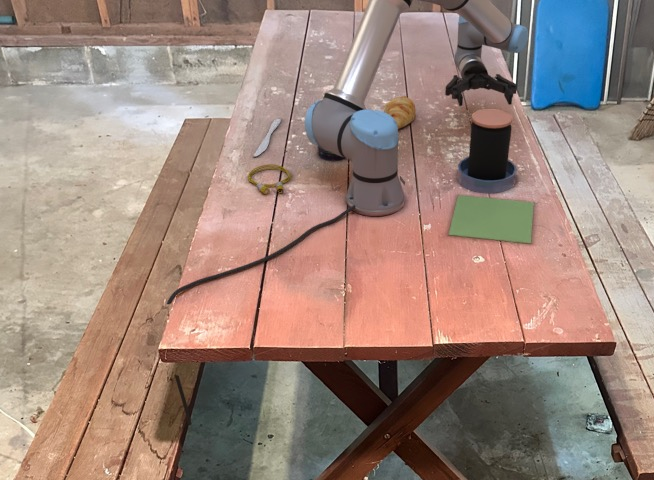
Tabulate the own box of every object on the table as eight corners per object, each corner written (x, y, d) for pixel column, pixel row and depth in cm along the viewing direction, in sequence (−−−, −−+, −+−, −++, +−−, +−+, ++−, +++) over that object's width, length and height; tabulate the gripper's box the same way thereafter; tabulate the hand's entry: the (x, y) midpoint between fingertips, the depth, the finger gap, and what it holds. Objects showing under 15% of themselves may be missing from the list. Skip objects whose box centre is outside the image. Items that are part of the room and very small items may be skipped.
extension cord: (238, 193, 189) (237, 186, 188) (256, 166, 201) (255, 160, 200) (281, 196, 187) (281, 190, 186) (297, 169, 199) (296, 163, 198)
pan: (507, 197, 187) (508, 185, 185) (450, 187, 192) (450, 175, 189) (520, 171, 199) (522, 159, 196) (466, 162, 203) (467, 150, 201)
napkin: (530, 244, 169) (530, 242, 169) (448, 235, 172) (448, 234, 172) (533, 203, 185) (533, 202, 184) (458, 195, 188) (458, 194, 188)
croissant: (405, 142, 221) (417, 122, 216) (377, 127, 219) (388, 106, 214) (411, 114, 237) (423, 94, 232) (385, 99, 235) (396, 79, 230)
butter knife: (284, 118, 226) (275, 117, 226) (260, 156, 205) (250, 155, 205) (284, 120, 226) (275, 119, 226) (260, 158, 205) (250, 157, 206)
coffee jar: (502, 169, 199) (509, 108, 188) (508, 187, 191) (516, 124, 180) (464, 169, 199) (469, 108, 188) (469, 187, 191) (474, 125, 179)
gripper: (513, 83, 211) (529, 112, 194) (431, 86, 209) (440, 115, 193) (516, 58, 206) (532, 85, 189) (432, 61, 205) (441, 88, 188)
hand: (486, 100), depth 191 cm, fingers open, 13 cm apart
